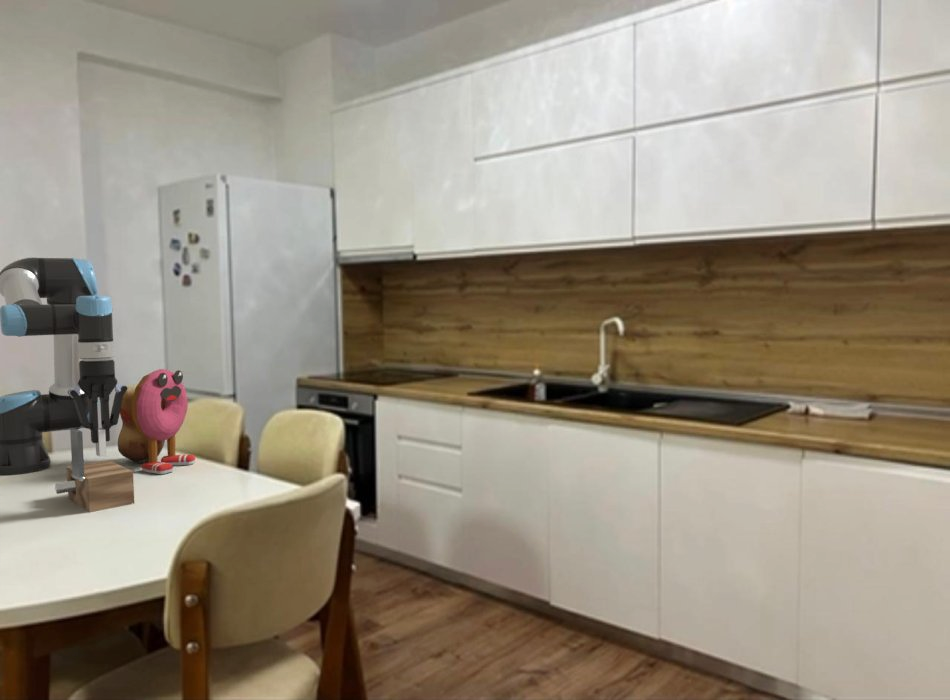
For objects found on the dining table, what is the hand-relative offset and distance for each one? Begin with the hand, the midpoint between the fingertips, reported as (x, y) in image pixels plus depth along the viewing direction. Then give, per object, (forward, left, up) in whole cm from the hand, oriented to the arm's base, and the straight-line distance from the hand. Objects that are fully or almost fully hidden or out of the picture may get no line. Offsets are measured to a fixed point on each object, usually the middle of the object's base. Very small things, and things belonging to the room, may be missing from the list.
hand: (101, 455), depth 166 cm
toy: (-28, +26, -13) cm, 40 cm away
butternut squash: (-42, +24, -13) cm, 50 cm away
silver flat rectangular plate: (0, -5, -4) cm, 7 cm away
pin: (-9, 0, -11) cm, 14 cm away
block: (-5, +1, -12) cm, 13 cm away
